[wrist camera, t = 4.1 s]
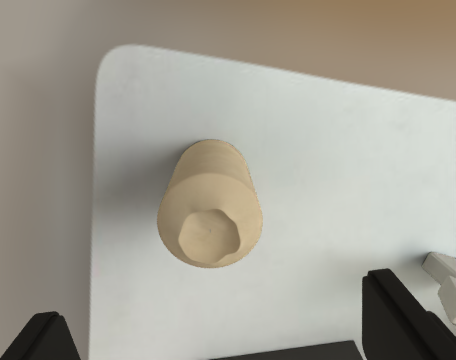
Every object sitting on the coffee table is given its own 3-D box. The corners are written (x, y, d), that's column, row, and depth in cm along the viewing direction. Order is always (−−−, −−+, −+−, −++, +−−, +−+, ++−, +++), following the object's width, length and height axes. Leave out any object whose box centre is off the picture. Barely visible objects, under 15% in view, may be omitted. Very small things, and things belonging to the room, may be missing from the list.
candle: (193, 126, 23) (178, 164, 14) (259, 156, 24) (287, 212, 15) (165, 189, 25) (134, 262, 15) (228, 215, 26) (236, 300, 16)
